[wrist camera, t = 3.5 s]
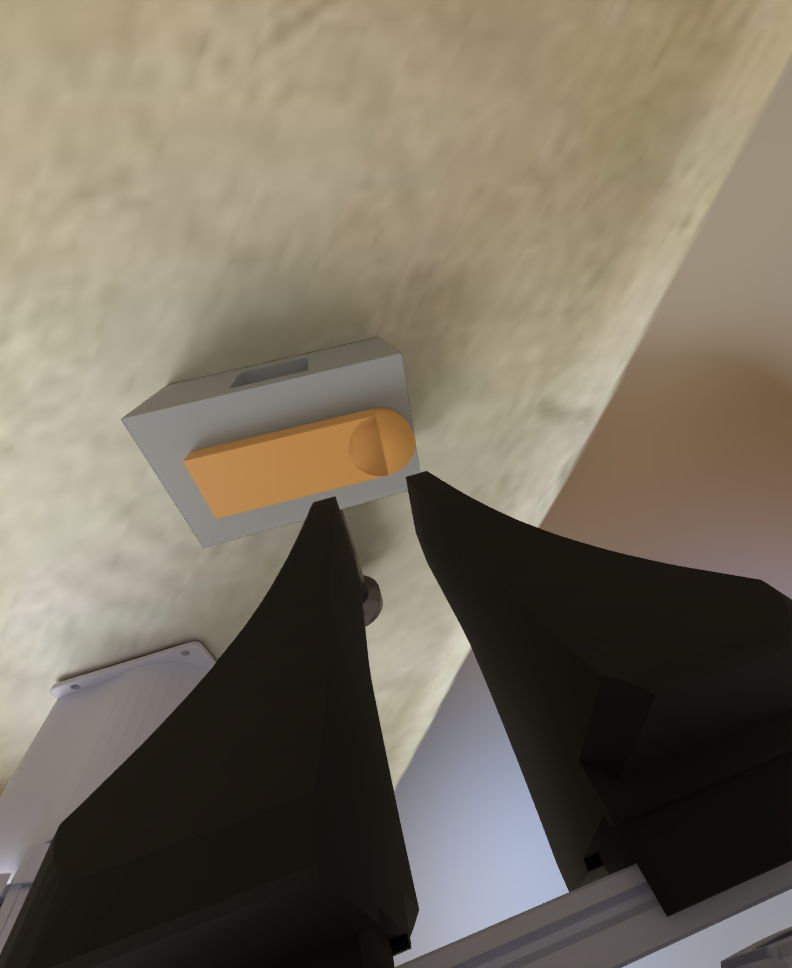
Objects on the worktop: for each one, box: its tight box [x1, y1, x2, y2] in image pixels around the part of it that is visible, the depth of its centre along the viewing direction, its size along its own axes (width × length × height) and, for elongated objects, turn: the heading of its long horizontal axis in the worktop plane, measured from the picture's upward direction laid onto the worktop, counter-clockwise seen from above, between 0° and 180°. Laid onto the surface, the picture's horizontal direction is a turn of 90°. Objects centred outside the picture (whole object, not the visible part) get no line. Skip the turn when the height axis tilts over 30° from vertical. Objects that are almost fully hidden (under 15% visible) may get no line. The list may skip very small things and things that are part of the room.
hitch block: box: [121, 337, 420, 548], centre depth 16 cm, size 10×6×5 cm, turn 100°
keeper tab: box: [183, 408, 415, 519], centre depth 13 cm, size 8×3×1 cm, turn 100°
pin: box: [340, 509, 383, 627], centre depth 19 cm, size 11×3×3 cm, turn 10°
